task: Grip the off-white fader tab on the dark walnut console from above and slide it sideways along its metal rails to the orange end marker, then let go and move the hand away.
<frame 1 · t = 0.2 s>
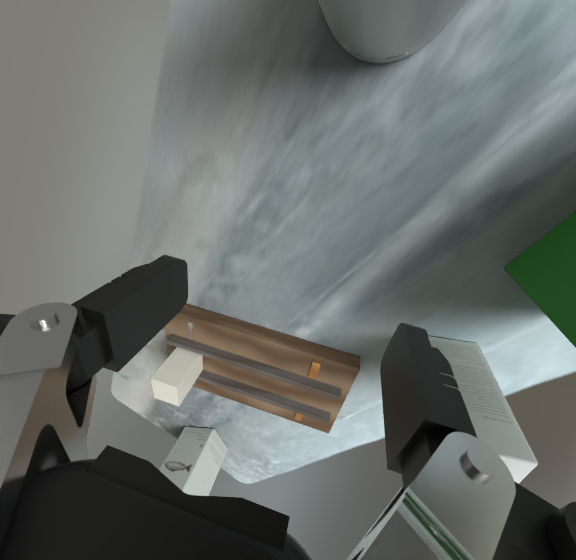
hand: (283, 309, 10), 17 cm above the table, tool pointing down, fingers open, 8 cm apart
supplement box: (207, 436, 55), on the table
fader tab: (179, 373, 36), point 5 cm above the table, slide at -9.0 cm
fader console: (256, 364, 39), on the table
skincare box: (442, 350, 30), on the table
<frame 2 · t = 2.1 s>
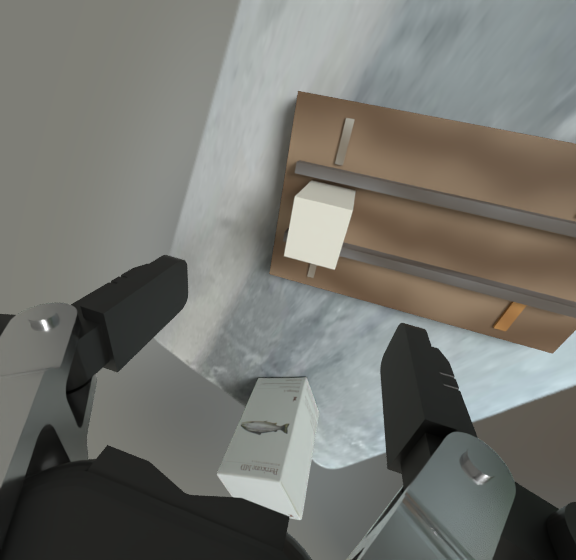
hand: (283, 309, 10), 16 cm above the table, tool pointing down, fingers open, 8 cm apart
supplement box: (289, 393, 38), on the table
fader tab: (322, 221, 19), point 5 cm above the table, slide at -9.0 cm
fader console: (433, 228, 23), on the table
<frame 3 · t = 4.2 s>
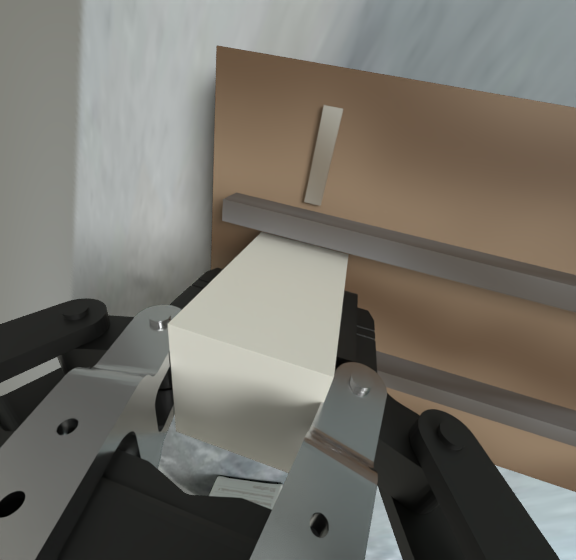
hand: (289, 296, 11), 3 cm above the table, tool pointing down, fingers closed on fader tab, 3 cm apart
supplement box: (260, 495, 27), on the table
fader tab: (275, 329, 9), point 5 cm above the table, slide at -9.0 cm, touching gripper
fader console: (492, 313, 12), on the table
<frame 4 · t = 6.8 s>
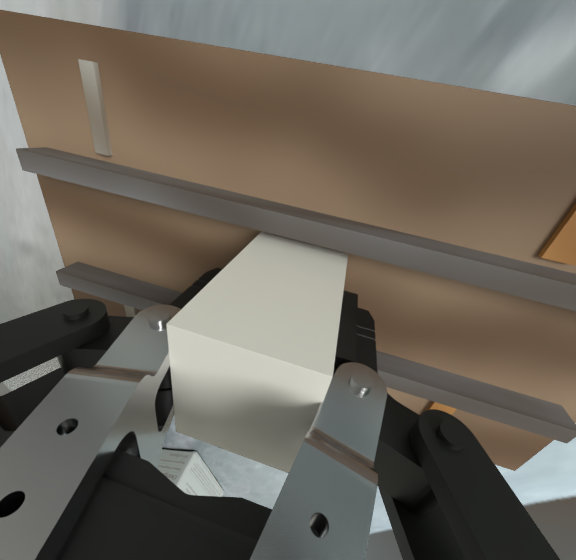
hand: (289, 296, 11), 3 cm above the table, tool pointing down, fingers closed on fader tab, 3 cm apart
supplement box: (184, 465, 28), on the table
fader tab: (274, 329, 9), point 5 cm above the table, slide at -0.2 cm, touching gripper
fader console: (308, 264, 13), on the table
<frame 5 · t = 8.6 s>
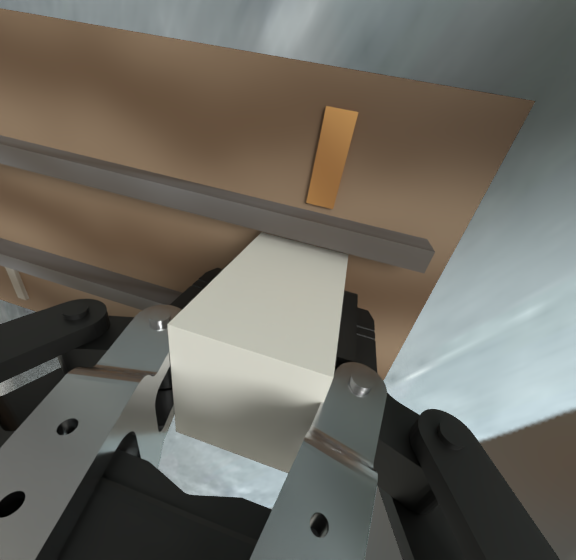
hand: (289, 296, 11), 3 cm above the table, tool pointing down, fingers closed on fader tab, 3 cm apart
fader tab: (275, 329, 9), point 5 cm above the table, slide at 7.8 cm, touching gripper
fader console: (165, 225, 14), on the table
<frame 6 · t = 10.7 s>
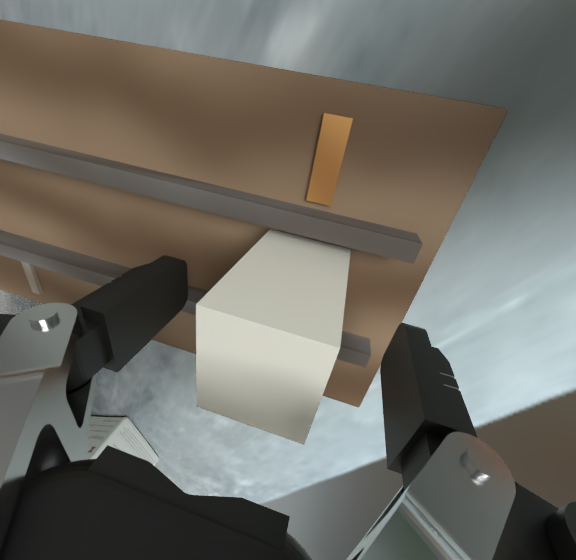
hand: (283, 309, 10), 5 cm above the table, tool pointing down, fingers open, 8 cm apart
supplement box: (122, 434, 30), on the table
fader tab: (284, 317, 10), point 5 cm above the table, slide at 8.0 cm
fader console: (173, 223, 15), on the table
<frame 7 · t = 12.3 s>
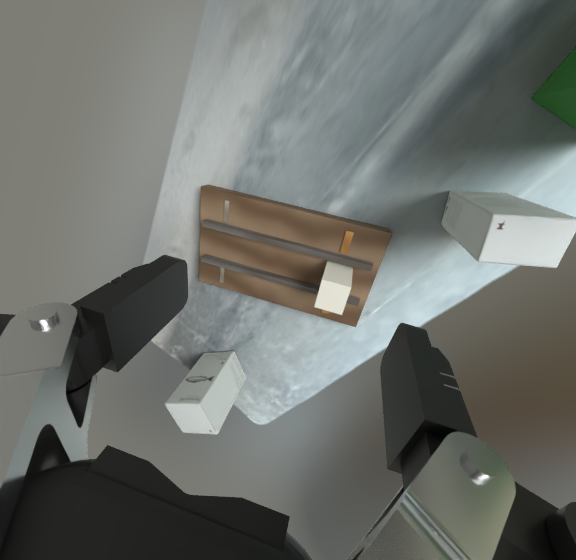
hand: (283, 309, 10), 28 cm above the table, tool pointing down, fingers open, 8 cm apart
supplement box: (225, 364, 54), on the table
fader tab: (334, 286, 34), point 5 cm above the table, slide at 8.0 cm
fader console: (285, 255, 40), on the table
skincare box: (471, 209, 32), on the table
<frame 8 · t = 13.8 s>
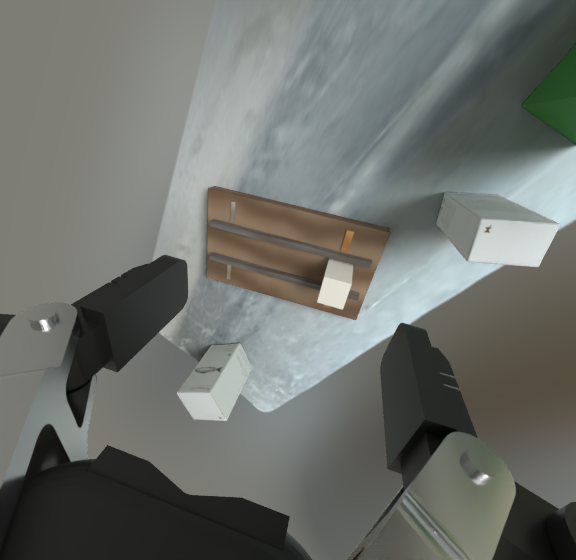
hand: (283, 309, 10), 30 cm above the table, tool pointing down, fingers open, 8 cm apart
supplement box: (232, 355, 57), on the table
fader tab: (335, 282, 37), point 5 cm above the table, slide at 8.0 cm
fader console: (289, 252, 42), on the table
skincare box: (465, 209, 34), on the table
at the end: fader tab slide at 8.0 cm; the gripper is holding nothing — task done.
